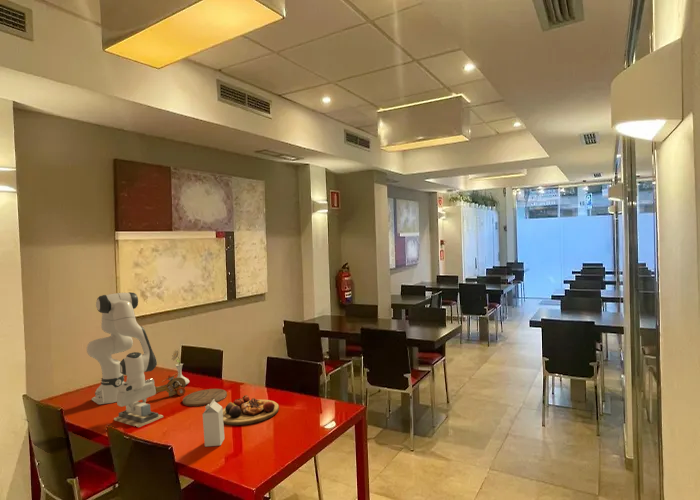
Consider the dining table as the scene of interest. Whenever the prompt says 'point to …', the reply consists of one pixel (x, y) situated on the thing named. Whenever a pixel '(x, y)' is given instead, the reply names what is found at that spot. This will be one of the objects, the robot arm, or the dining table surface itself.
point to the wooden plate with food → (248, 411)
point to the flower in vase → (179, 366)
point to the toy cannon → (170, 388)
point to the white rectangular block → (139, 409)
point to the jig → (137, 418)
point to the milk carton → (213, 424)
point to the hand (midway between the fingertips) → (138, 408)
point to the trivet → (204, 397)
